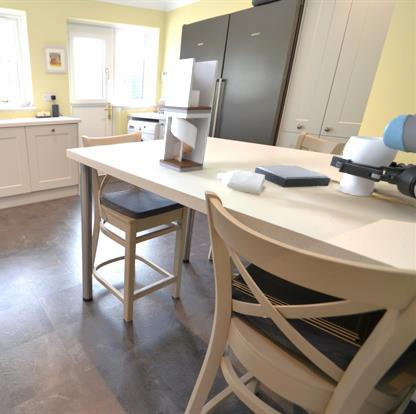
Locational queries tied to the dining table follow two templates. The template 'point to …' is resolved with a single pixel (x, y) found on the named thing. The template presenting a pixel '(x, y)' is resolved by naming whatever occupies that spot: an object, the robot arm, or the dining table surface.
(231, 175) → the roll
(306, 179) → the scale
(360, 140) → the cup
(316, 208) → the dining table surface
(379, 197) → the dining table surface
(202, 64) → the white wooden shelf unit
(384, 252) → the dining table surface
